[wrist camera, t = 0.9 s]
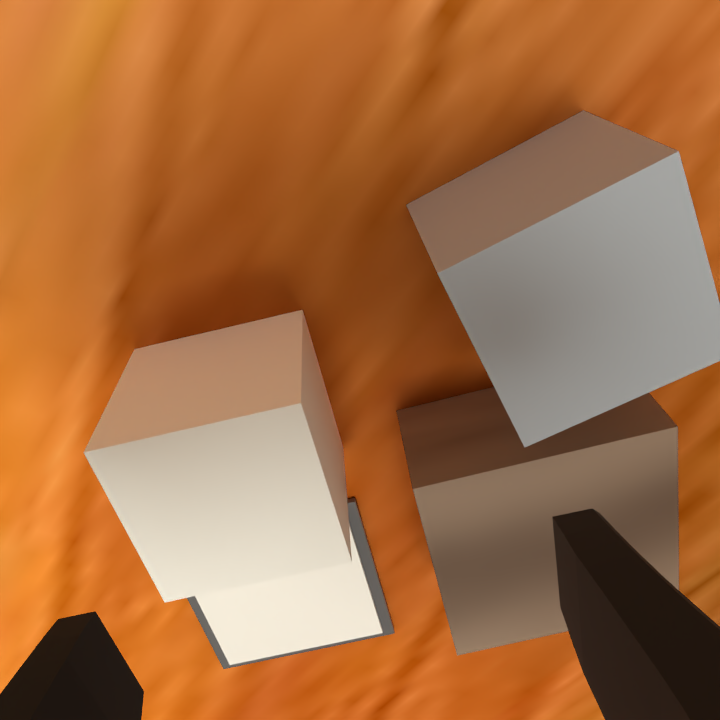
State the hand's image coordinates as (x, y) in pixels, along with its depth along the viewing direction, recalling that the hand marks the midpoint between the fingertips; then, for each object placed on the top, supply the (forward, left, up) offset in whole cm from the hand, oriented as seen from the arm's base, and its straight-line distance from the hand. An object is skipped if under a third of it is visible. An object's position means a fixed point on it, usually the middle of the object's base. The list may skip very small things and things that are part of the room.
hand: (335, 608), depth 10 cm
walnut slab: (-7, -5, -10) cm, 13 cm away
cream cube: (-2, +3, -10) cm, 11 cm away
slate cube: (+1, -6, -10) cm, 12 cm away
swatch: (-10, +4, -10) cm, 15 cm away
